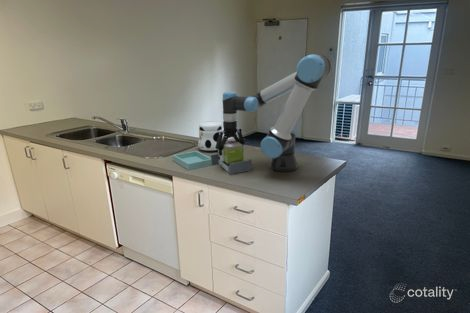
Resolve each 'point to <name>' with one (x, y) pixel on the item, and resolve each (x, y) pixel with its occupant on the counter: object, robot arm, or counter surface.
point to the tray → (192, 160)
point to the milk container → (209, 135)
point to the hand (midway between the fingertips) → (230, 158)
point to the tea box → (231, 153)
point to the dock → (234, 165)
